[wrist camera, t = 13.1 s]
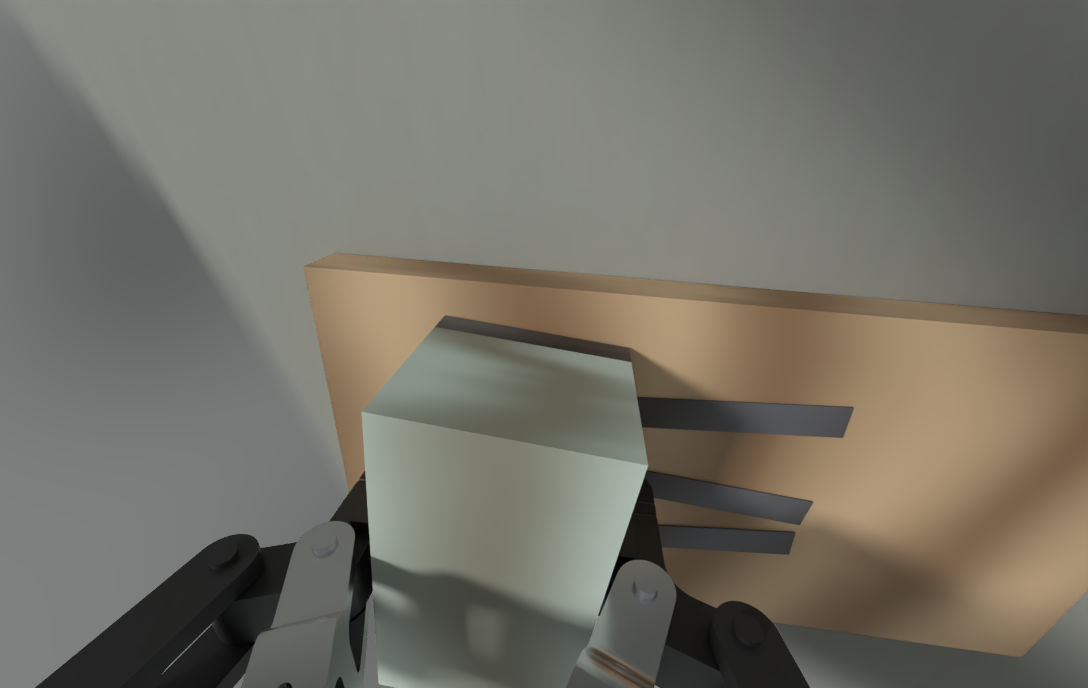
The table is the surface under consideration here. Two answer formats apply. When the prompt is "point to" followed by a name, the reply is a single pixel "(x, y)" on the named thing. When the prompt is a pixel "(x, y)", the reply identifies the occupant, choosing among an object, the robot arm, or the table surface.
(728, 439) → the tan wooden board
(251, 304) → the table surface
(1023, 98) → the table surface
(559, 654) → the block
